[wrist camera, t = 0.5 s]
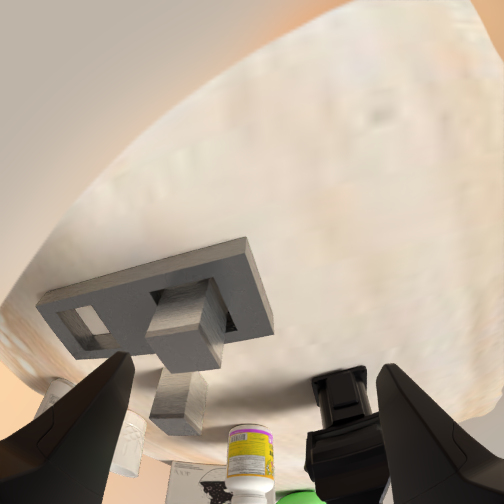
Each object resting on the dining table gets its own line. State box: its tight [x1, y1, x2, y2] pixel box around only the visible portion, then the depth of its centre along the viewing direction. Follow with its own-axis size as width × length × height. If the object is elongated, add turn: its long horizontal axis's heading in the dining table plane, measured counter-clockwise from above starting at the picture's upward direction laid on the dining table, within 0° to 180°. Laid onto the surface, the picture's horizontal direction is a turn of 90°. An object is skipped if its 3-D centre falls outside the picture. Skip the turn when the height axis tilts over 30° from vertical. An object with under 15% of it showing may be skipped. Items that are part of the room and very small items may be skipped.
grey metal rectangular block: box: [145, 277, 228, 374], centre depth 21 cm, size 4×4×7 cm
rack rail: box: [36, 237, 274, 360], centre depth 24 cm, size 8×23×2 cm, turn 107°
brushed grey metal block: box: [149, 368, 208, 436], centre depth 27 cm, size 4×4×7 cm
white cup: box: [110, 410, 147, 478], centre depth 33 cm, size 8×8×10 cm
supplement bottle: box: [225, 424, 274, 504], centre depth 32 cm, size 7×7×13 cm
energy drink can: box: [34, 378, 75, 419], centre depth 28 cm, size 6×6×15 cm
